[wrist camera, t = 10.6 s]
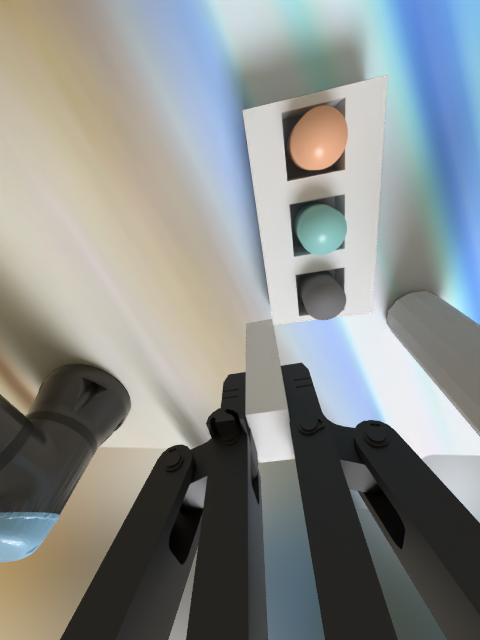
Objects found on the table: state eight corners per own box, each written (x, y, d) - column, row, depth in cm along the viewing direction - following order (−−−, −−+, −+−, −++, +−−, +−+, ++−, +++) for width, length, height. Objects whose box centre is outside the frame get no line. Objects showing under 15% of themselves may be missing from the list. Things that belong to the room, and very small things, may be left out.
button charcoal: (299, 303, 35) (306, 322, 30) (297, 271, 33) (303, 286, 28) (334, 298, 34) (346, 317, 30) (334, 265, 32) (346, 280, 28)
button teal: (295, 246, 31) (301, 258, 27) (291, 206, 29) (298, 212, 25) (333, 239, 30) (346, 251, 26) (333, 198, 28) (347, 203, 24)
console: (271, 307, 38) (273, 325, 34) (244, 119, 28) (242, 110, 23) (358, 295, 36) (372, 312, 32) (365, 91, 26) (387, 75, 22)
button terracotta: (289, 174, 28) (295, 174, 23) (285, 122, 25) (290, 112, 21) (333, 165, 27) (347, 164, 23) (332, 111, 25) (348, 99, 20)
